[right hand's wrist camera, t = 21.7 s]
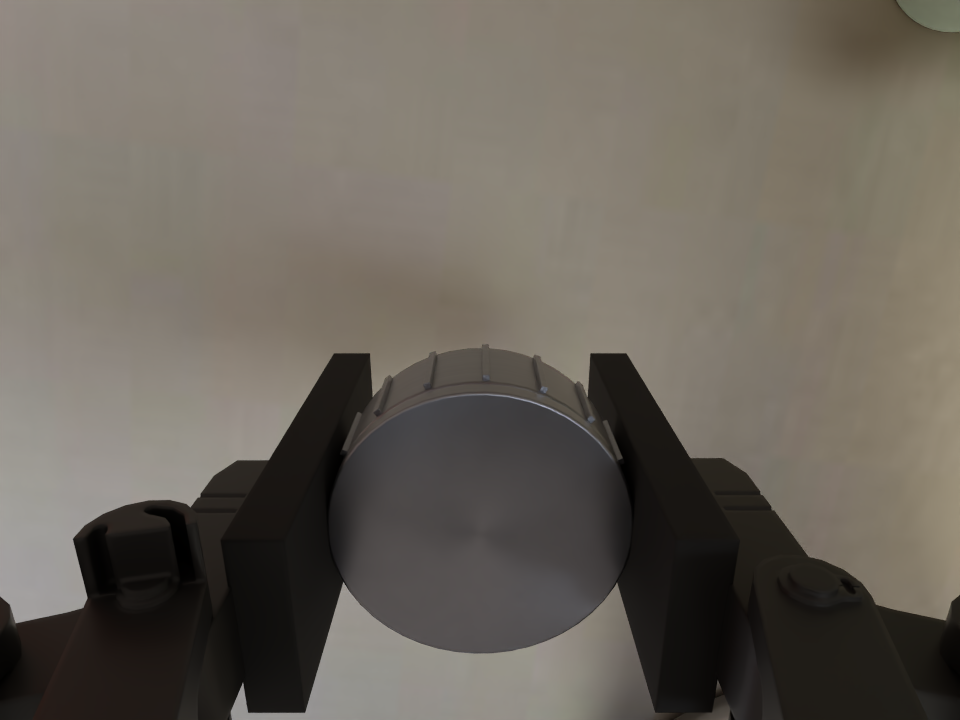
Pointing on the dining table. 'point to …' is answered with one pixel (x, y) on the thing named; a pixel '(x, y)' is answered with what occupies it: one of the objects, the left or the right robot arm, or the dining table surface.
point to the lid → (480, 503)
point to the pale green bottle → (934, 13)
